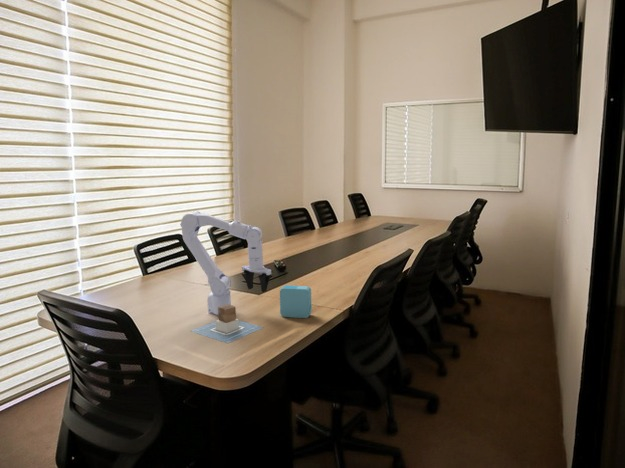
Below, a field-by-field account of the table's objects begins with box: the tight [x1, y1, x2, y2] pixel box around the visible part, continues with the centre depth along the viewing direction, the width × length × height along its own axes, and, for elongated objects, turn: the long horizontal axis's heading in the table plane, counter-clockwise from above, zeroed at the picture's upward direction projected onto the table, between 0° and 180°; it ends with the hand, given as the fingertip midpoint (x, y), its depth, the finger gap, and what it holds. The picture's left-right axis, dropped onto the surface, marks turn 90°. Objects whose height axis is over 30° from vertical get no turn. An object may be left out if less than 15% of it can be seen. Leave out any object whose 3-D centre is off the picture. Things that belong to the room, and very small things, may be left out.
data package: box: [279, 285, 312, 319], centre depth 180 cm, size 12×4×12 cm, turn 78°
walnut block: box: [217, 304, 237, 323], centre depth 164 cm, size 4×4×5 cm
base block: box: [214, 318, 240, 333], centre depth 164 cm, size 6×6×4 cm
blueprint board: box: [190, 320, 264, 344], centre depth 165 cm, size 20×18×1 cm
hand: (257, 290), depth 181 cm, fingers open, 7 cm apart
